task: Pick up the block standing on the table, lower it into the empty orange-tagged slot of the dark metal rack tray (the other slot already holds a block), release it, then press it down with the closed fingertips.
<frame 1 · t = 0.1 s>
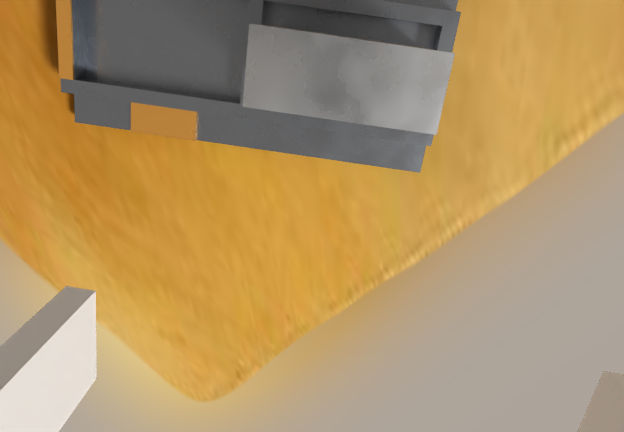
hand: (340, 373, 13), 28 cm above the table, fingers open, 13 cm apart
rack: (258, 52, 37), on the table
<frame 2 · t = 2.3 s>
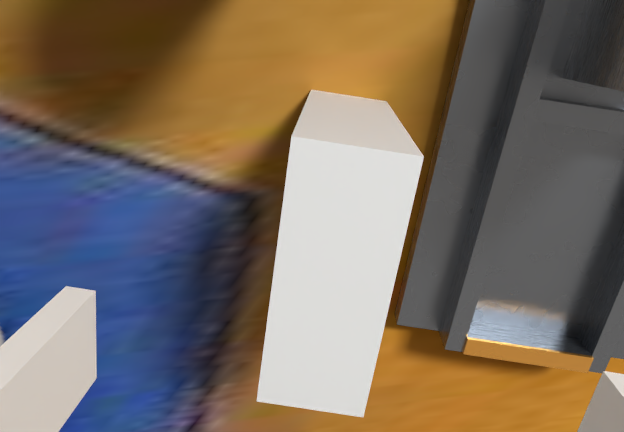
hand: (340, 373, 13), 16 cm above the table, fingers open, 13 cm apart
block: (333, 185, 28), on the table
rack: (581, 111, 26), on the table
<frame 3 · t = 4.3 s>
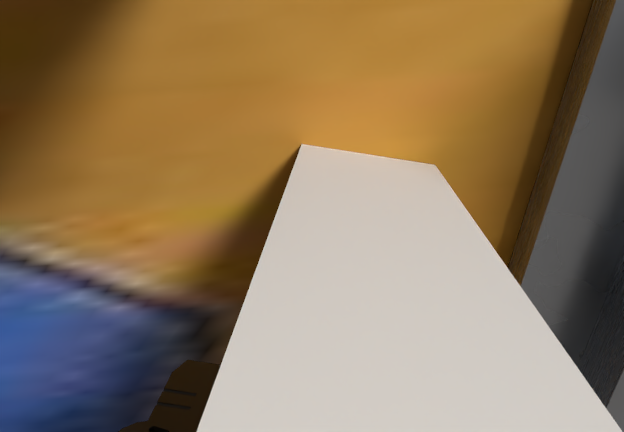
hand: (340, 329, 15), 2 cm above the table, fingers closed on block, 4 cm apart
block: (340, 300, 16), on the table, touching gripper
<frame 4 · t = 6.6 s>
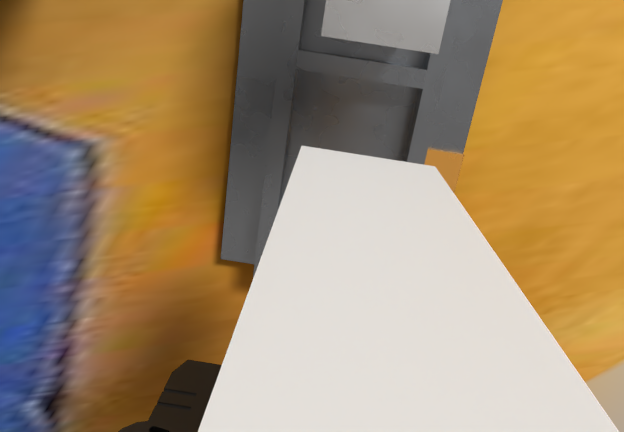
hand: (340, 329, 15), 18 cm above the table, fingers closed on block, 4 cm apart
block: (340, 301, 16), point 16 cm above the table, touching gripper
rack: (359, 66, 30), on the table
when the fingers open (4 cm above the table, at t = 9.3 s): block stays where it is, resting on rack.
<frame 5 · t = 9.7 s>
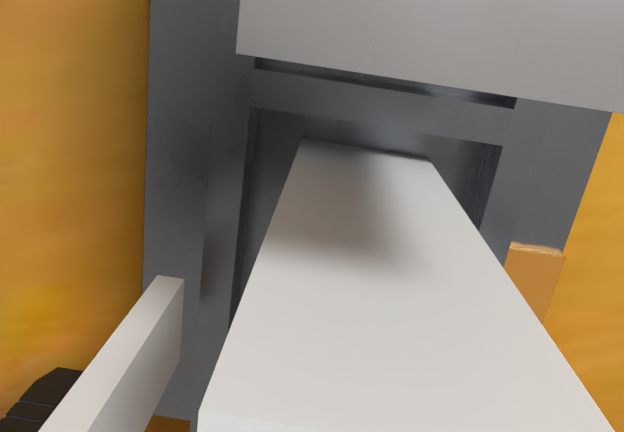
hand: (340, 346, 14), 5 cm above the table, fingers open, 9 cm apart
block: (339, 287, 17), point 1 cm above the table, touching rack
rack: (373, 94, 16), on the table
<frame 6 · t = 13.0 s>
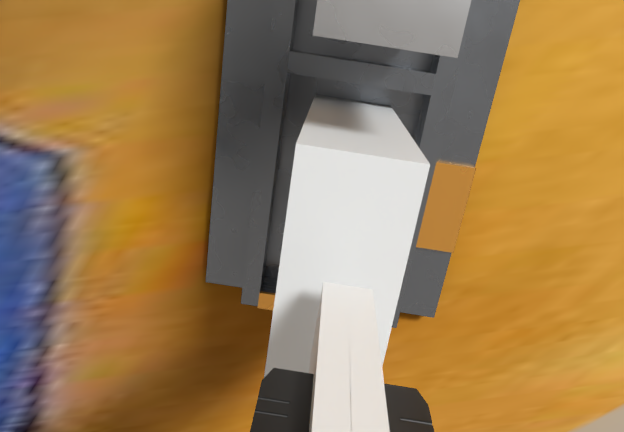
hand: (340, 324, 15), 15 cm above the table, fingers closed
block: (337, 191, 28), point 1 cm above the table, touching rack
rack: (358, 69, 26), on the table
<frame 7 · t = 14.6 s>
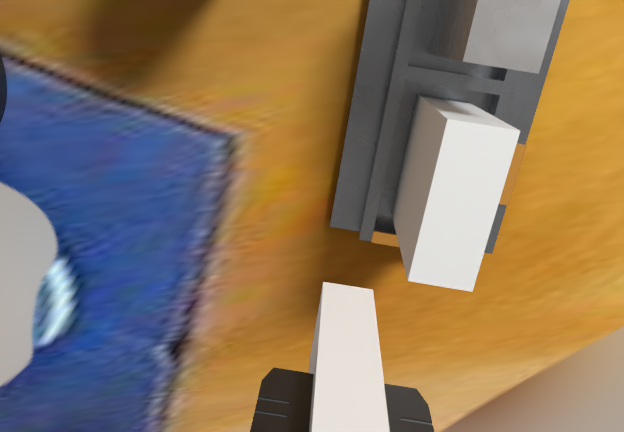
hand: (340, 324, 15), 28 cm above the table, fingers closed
block: (428, 161, 40), point 1 cm above the table, touching rack
rack: (446, 77, 39), on the table
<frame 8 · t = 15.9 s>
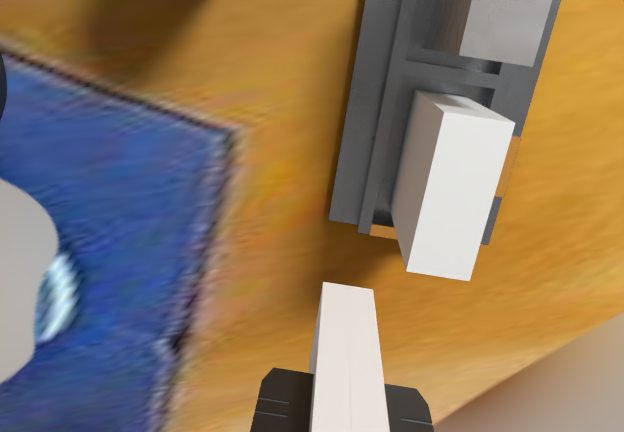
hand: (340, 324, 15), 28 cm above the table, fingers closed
block: (425, 154, 41), point 1 cm above the table, touching rack
rack: (442, 71, 39), on the table
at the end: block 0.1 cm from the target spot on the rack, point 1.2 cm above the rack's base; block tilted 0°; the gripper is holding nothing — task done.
